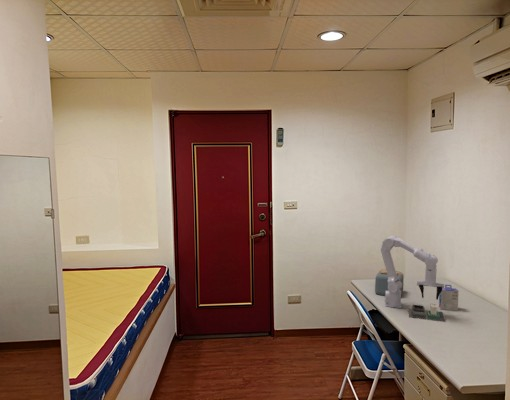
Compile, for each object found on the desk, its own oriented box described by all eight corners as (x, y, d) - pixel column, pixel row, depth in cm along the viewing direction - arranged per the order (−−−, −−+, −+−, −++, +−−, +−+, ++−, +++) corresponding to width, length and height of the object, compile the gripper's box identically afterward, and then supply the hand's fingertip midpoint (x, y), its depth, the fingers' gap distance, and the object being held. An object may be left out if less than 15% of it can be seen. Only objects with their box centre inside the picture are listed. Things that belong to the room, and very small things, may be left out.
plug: (430, 316, 208) (431, 306, 207) (430, 313, 212) (430, 303, 212) (436, 317, 207) (436, 307, 206) (435, 314, 211) (436, 304, 210)
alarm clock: (403, 291, 250) (404, 269, 249) (399, 299, 237) (399, 275, 235) (379, 287, 259) (380, 266, 258) (374, 294, 245) (374, 272, 244)
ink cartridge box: (455, 307, 222) (456, 284, 221) (458, 310, 217) (459, 287, 215) (438, 306, 224) (439, 283, 223) (440, 309, 219) (441, 286, 217)
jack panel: (408, 317, 208) (409, 310, 208) (407, 308, 221) (407, 302, 220) (445, 321, 202) (445, 314, 201) (442, 312, 214) (442, 306, 214)
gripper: (417, 276, 210) (416, 299, 212) (445, 279, 205) (444, 302, 206) (417, 273, 217) (416, 294, 218) (443, 275, 212) (442, 297, 213)
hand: (429, 298), depth 213 cm, fingers open, 7 cm apart
